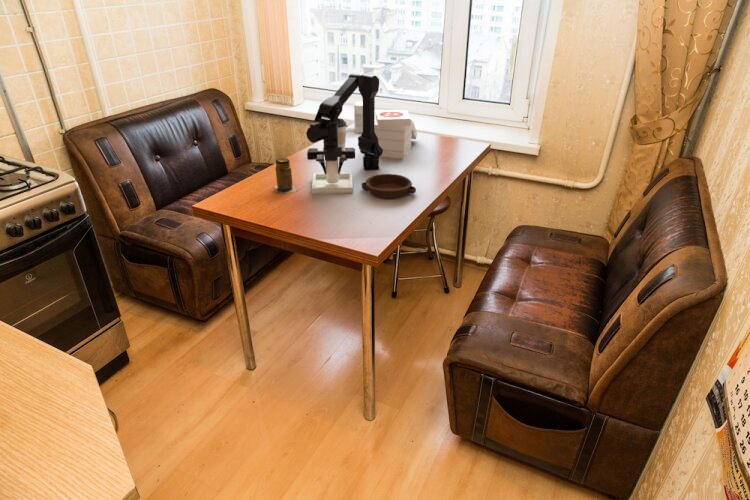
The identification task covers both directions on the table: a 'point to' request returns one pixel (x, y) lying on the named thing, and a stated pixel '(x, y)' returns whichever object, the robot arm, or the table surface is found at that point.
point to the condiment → (284, 176)
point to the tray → (332, 184)
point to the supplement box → (358, 116)
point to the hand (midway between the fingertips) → (332, 173)
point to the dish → (388, 186)
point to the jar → (332, 171)
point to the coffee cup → (341, 134)
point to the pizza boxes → (394, 132)
